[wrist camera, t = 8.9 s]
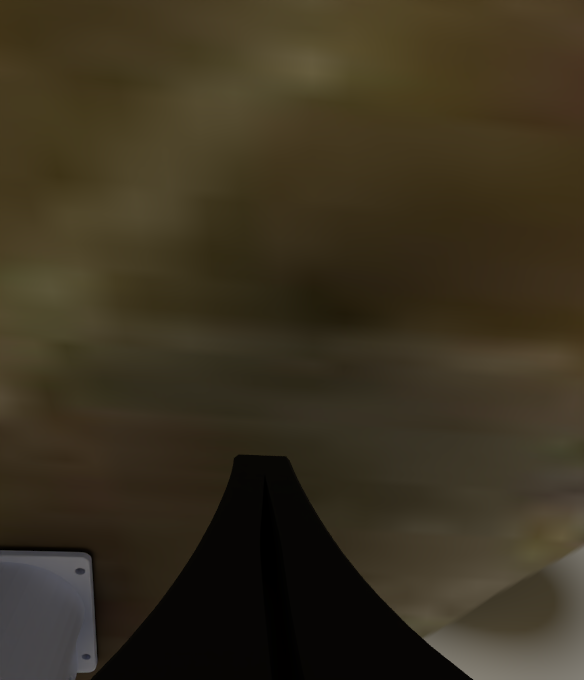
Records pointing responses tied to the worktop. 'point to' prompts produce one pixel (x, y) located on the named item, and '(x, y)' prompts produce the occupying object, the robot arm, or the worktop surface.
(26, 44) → the worktop surface
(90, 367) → the worktop surface
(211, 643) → the robot arm
